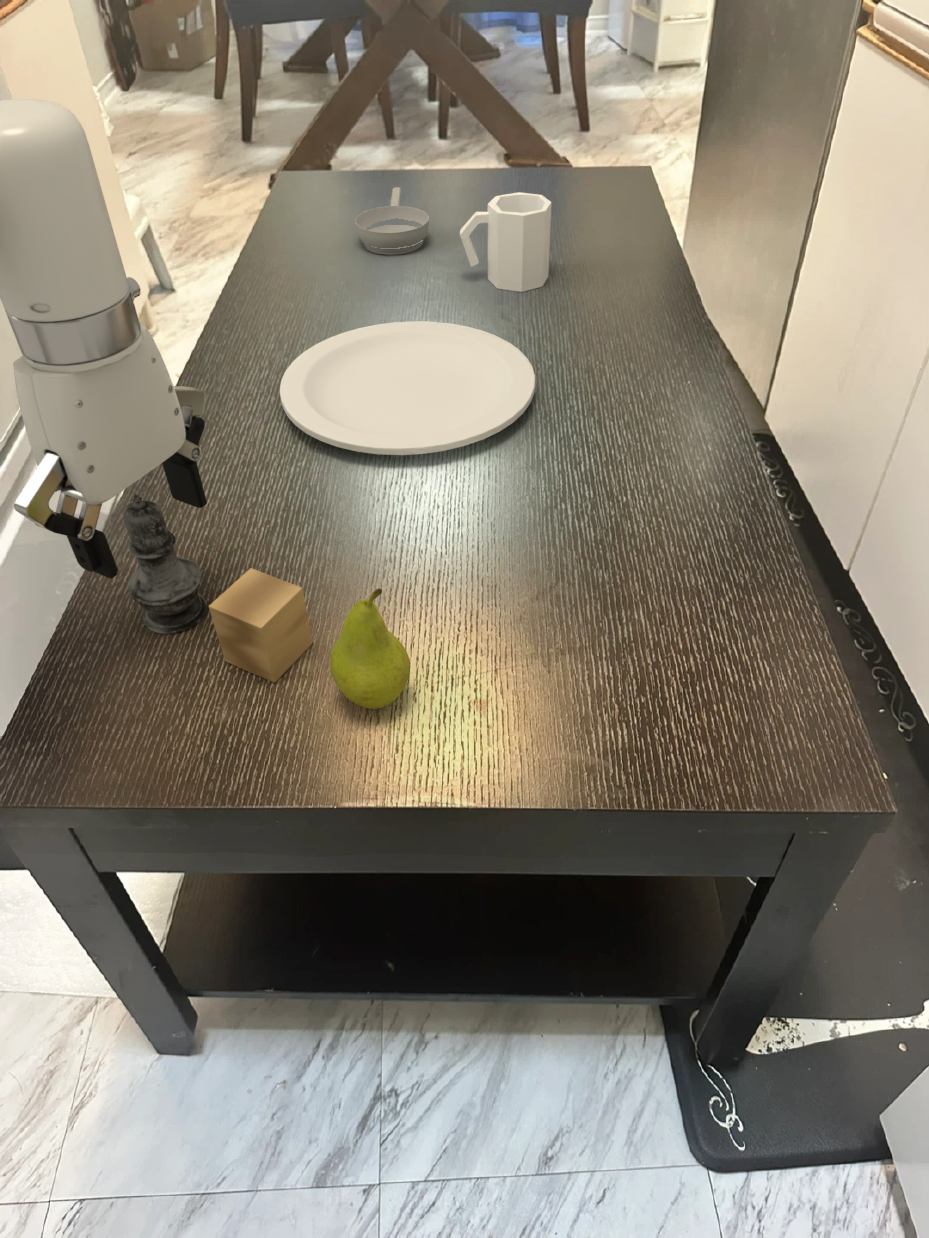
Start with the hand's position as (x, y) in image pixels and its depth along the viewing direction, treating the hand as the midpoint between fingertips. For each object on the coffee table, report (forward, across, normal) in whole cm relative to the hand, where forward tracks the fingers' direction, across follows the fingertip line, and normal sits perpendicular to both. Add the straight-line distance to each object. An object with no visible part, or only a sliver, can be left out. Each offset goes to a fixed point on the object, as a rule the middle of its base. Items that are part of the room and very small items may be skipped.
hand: (147, 535), depth 69 cm
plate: (+8, -39, -1) cm, 40 cm away
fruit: (+8, 0, +20) cm, 22 cm away
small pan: (+8, -79, -28) cm, 85 cm away
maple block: (+8, 0, +10) cm, 13 cm away
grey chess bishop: (+8, 0, 0) cm, 8 cm away
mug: (+8, -72, -6) cm, 73 cm away
